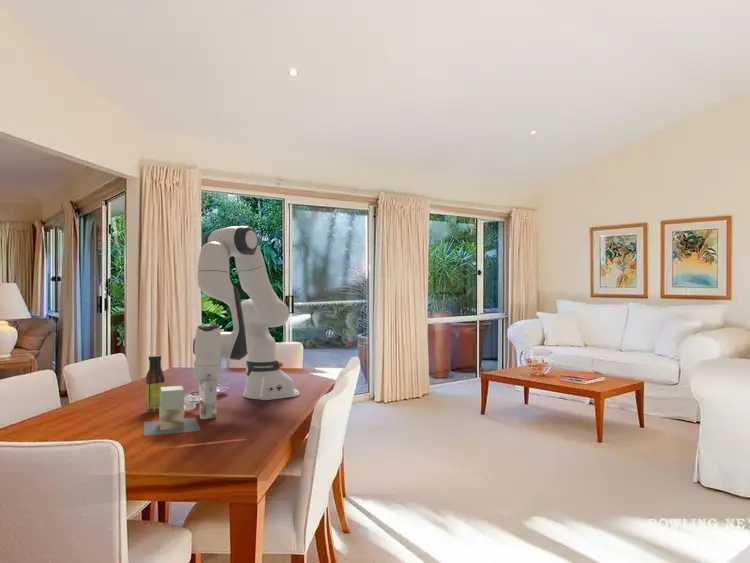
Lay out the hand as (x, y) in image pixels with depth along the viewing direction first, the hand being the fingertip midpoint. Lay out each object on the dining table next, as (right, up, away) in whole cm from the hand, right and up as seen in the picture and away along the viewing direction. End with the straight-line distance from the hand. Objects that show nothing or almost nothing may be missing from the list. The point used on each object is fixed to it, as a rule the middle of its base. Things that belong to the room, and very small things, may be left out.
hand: (207, 413), depth 183 cm
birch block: (-7, -1, -12) cm, 14 cm away
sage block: (-7, +5, -12) cm, 15 cm away
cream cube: (0, -2, 0) cm, 2 cm away
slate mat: (-7, -2, -12) cm, 14 cm away
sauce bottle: (-20, -2, +7) cm, 22 cm away
